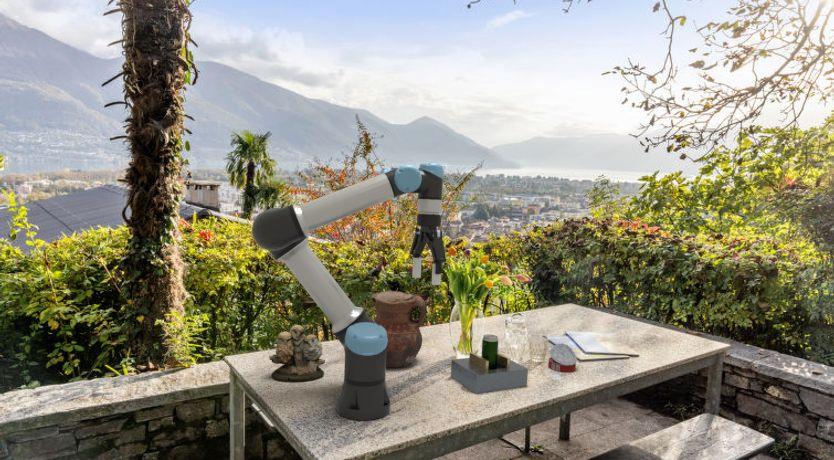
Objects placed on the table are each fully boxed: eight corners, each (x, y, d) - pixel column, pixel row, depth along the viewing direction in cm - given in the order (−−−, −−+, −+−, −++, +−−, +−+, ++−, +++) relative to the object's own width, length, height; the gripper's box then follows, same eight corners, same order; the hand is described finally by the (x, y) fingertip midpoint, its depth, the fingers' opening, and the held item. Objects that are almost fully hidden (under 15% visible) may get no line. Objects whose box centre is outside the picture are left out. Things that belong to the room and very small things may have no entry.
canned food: (571, 379, 188) (586, 358, 185) (563, 383, 179) (579, 361, 177) (547, 359, 193) (561, 339, 191) (538, 363, 185) (553, 341, 183)
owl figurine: (269, 384, 155) (270, 331, 155) (267, 372, 167) (269, 322, 166) (326, 380, 161) (328, 328, 160) (321, 368, 172) (323, 320, 171)
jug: (369, 373, 170) (372, 301, 168) (356, 354, 190) (359, 290, 188) (429, 369, 177) (433, 300, 175) (411, 351, 197) (414, 289, 195)
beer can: (488, 375, 163) (490, 339, 162) (477, 370, 168) (479, 335, 167) (500, 372, 166) (502, 337, 166) (489, 367, 171) (491, 333, 170)
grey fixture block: (475, 394, 156) (477, 365, 155) (448, 375, 171) (449, 349, 171) (534, 385, 166) (535, 359, 165) (503, 368, 181) (504, 344, 181)
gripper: (460, 215, 144) (456, 287, 146) (422, 212, 167) (419, 274, 168) (437, 214, 141) (433, 288, 142) (401, 211, 164) (398, 275, 165)
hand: (425, 281), depth 155 cm, fingers open, 13 cm apart
